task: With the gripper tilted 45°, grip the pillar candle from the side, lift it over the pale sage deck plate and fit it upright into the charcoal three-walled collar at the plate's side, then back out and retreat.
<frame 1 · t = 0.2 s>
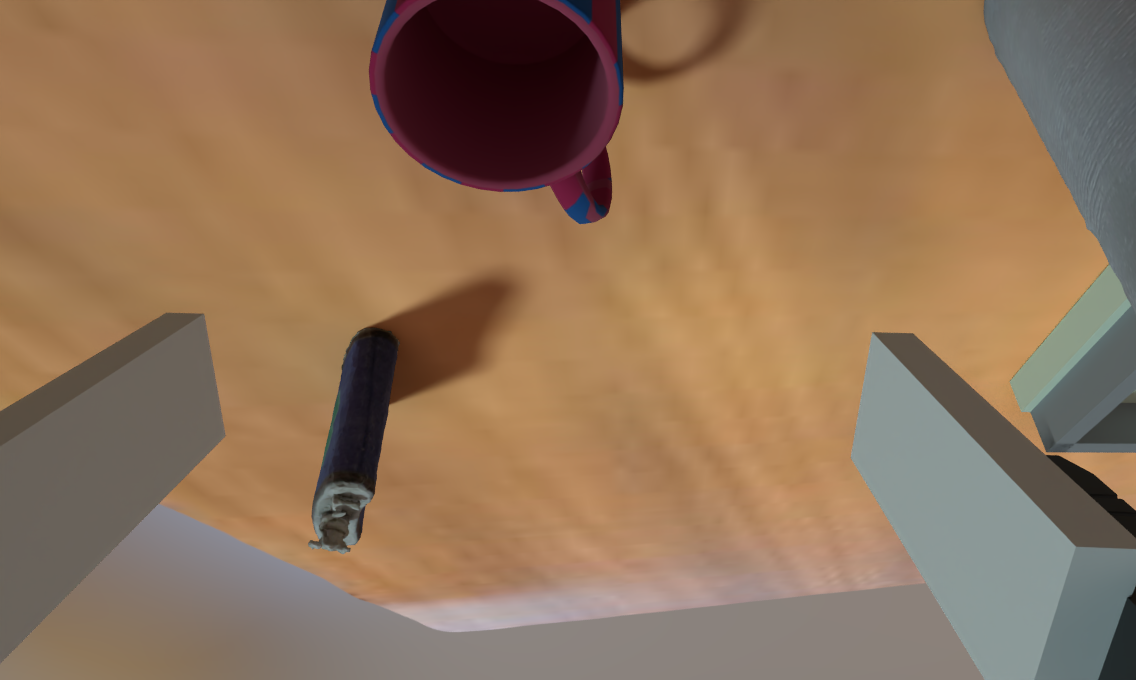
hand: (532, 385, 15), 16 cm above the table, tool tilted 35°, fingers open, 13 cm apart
flask: (369, 368, 43), on the table
mug: (532, 9, 25), on the table
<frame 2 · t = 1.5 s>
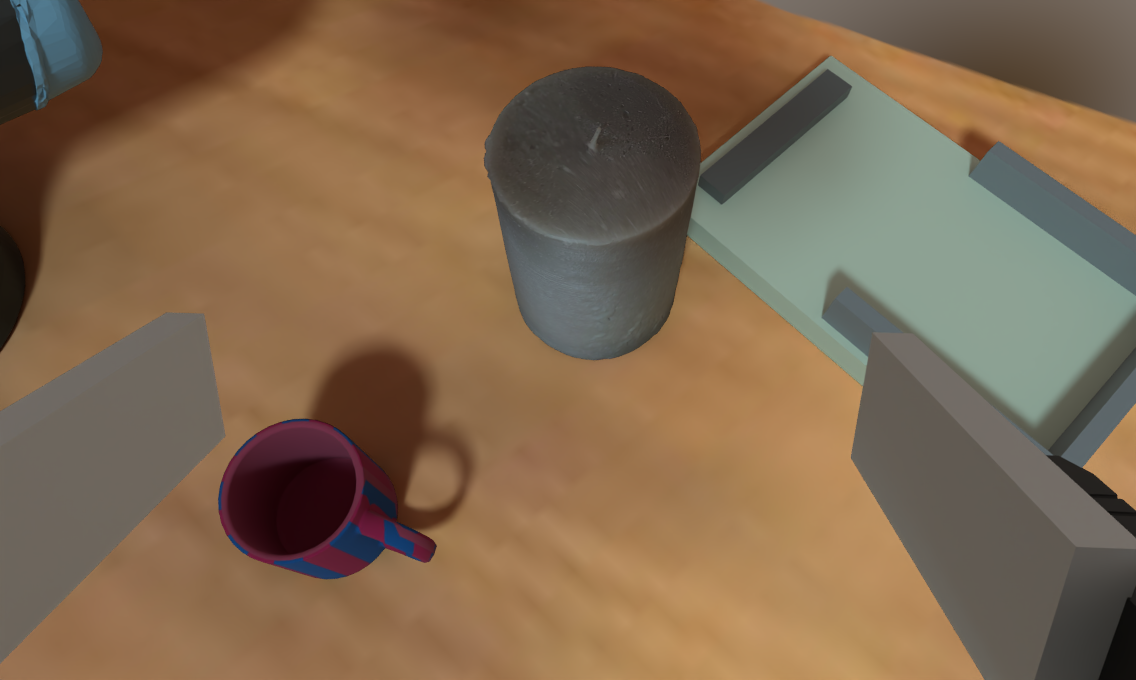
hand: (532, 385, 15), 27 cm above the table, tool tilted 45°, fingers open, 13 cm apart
deck plate: (903, 266, 46), on the table
pillar candle: (591, 291, 46), on the table
mug: (362, 530, 40), on the table
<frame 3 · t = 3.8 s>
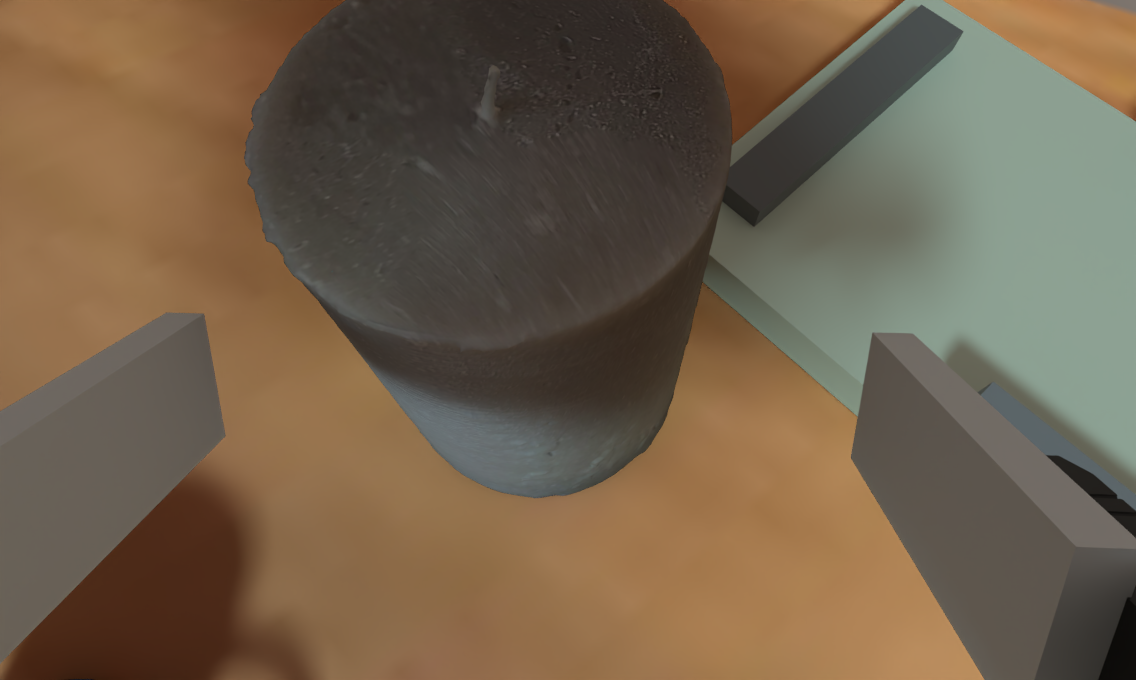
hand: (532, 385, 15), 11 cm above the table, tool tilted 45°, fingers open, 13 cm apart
deck plate: (1058, 327, 27), on the table
pillar candle: (536, 371, 27), on the table
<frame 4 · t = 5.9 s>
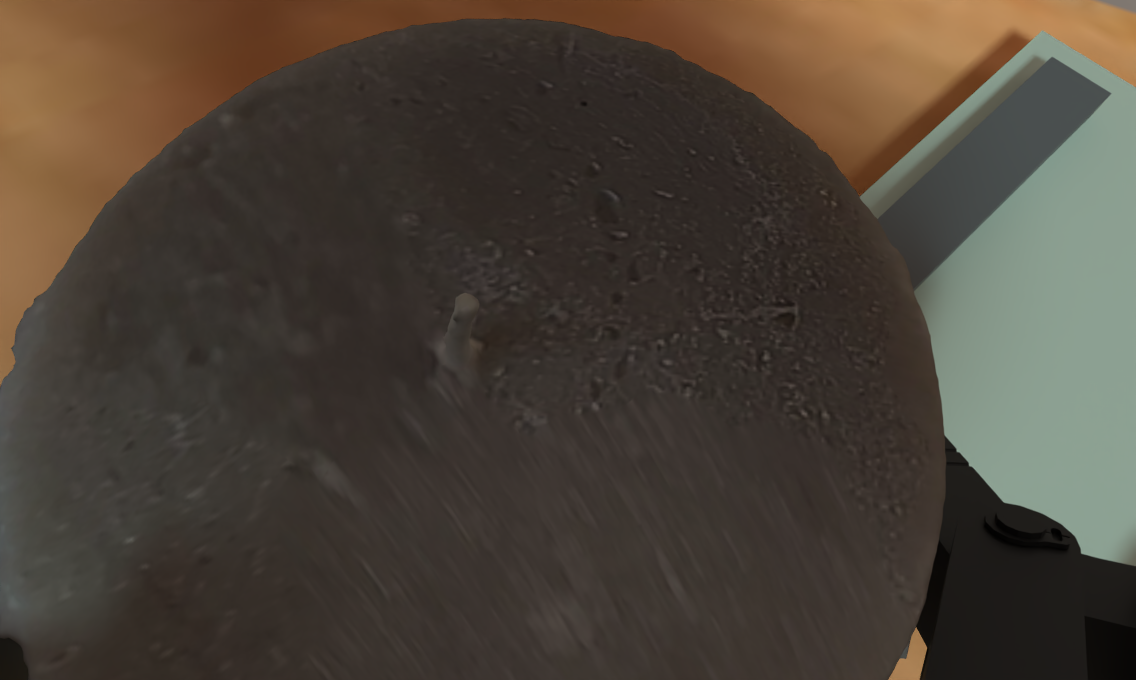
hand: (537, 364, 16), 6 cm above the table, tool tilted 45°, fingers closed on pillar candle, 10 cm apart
pillar candle: (544, 554, 20), on the table, touching gripper
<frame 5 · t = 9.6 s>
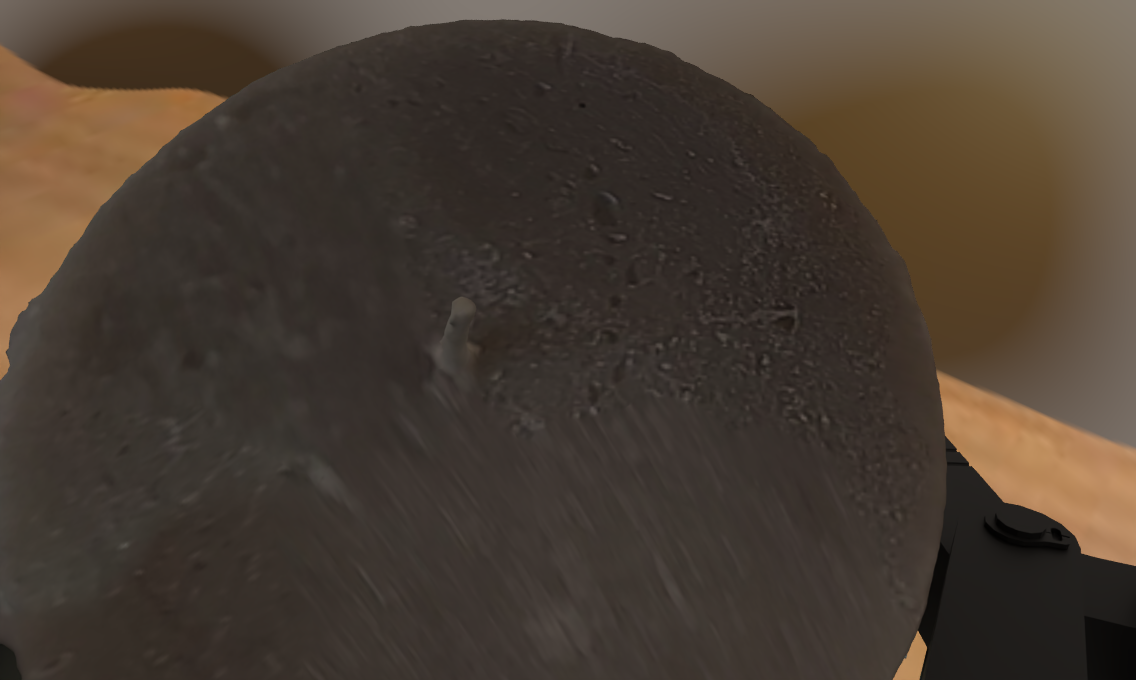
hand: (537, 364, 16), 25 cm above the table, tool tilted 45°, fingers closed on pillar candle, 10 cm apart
pillar candle: (543, 556, 20), point 19 cm above the table, touching gripper
when the fingers open (9 cm above the table, at t = 13.1 s): pillar candle drops 1 cm, resting on deck plate.
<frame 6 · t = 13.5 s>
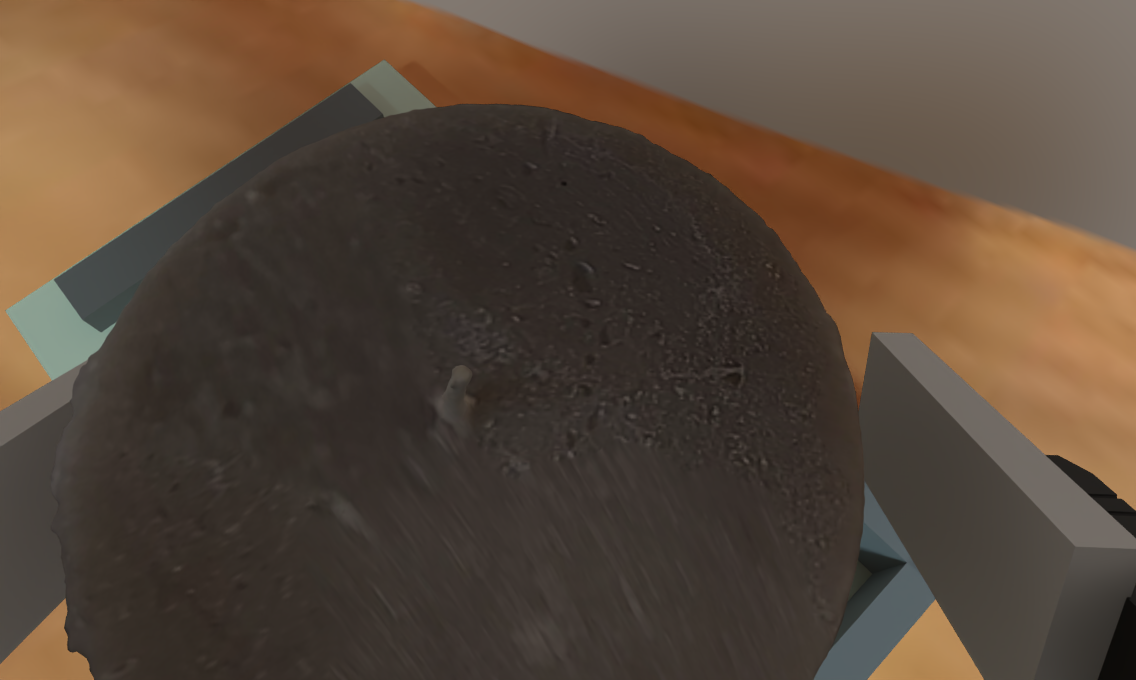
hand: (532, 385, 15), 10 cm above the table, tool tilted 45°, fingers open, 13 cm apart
deck plate: (440, 443, 25), on the table
pillar candle: (535, 564, 21), point 2 cm above the table, touching deck plate
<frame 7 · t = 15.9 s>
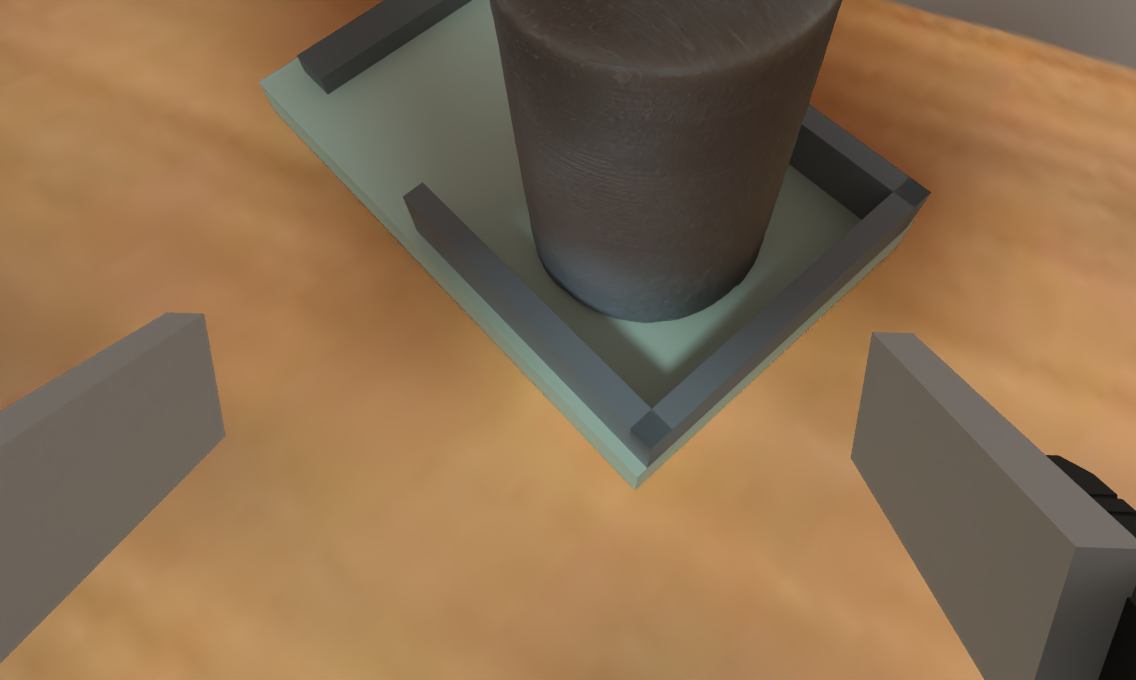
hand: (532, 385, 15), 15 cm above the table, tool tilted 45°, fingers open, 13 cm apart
deck plate: (565, 174, 35), on the table
pillar candle: (641, 226, 32), point 2 cm above the table, touching deck plate
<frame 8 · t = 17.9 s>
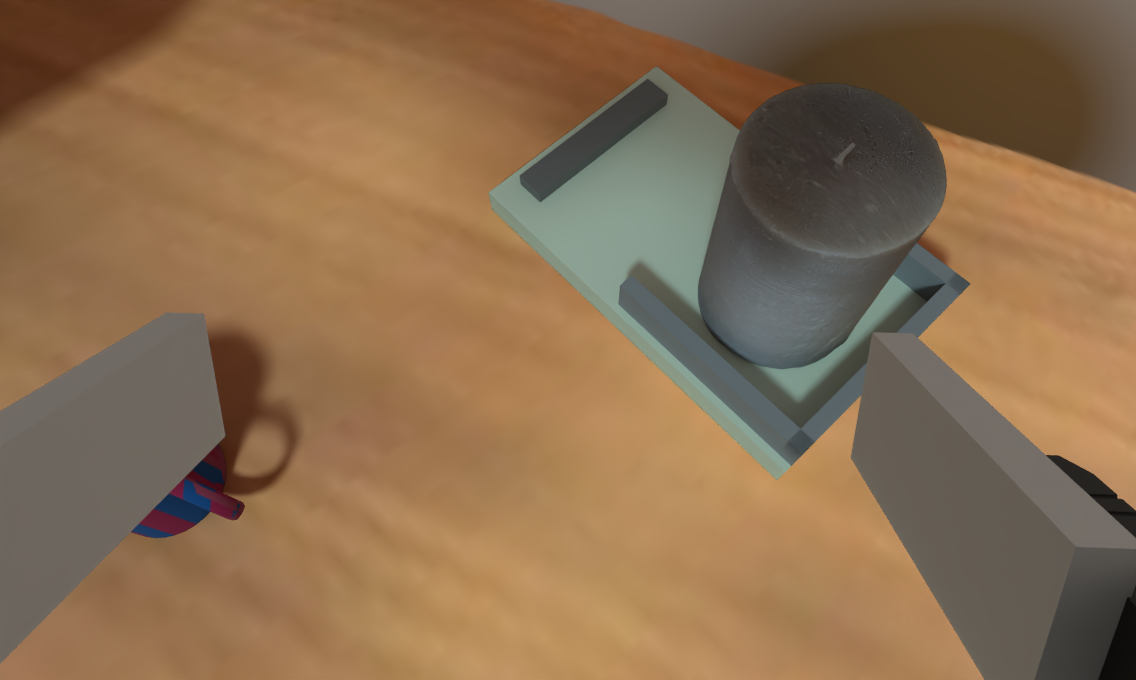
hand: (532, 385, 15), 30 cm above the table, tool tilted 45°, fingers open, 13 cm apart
deck plate: (708, 258, 50), on the table
pillar candle: (771, 301, 46), point 2 cm above the table, touching deck plate
mug: (193, 495, 44), on the table
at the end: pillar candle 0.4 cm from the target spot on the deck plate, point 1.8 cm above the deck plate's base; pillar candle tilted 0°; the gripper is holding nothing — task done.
